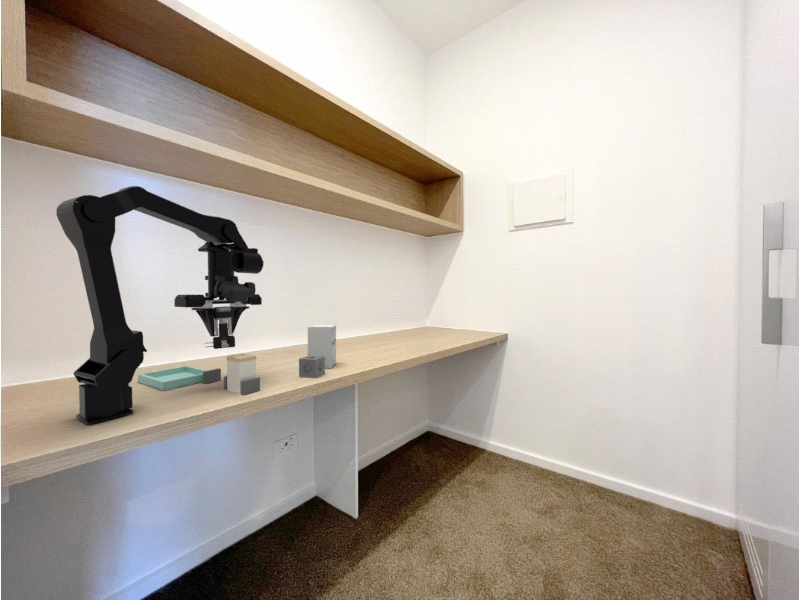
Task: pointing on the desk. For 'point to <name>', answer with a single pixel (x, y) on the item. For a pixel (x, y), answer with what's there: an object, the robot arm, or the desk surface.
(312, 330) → the supplement box
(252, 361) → the white lidded container
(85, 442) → the desk surface
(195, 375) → the tray
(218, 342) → the push button
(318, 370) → the dark grey cube
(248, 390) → the set of grey blocks
